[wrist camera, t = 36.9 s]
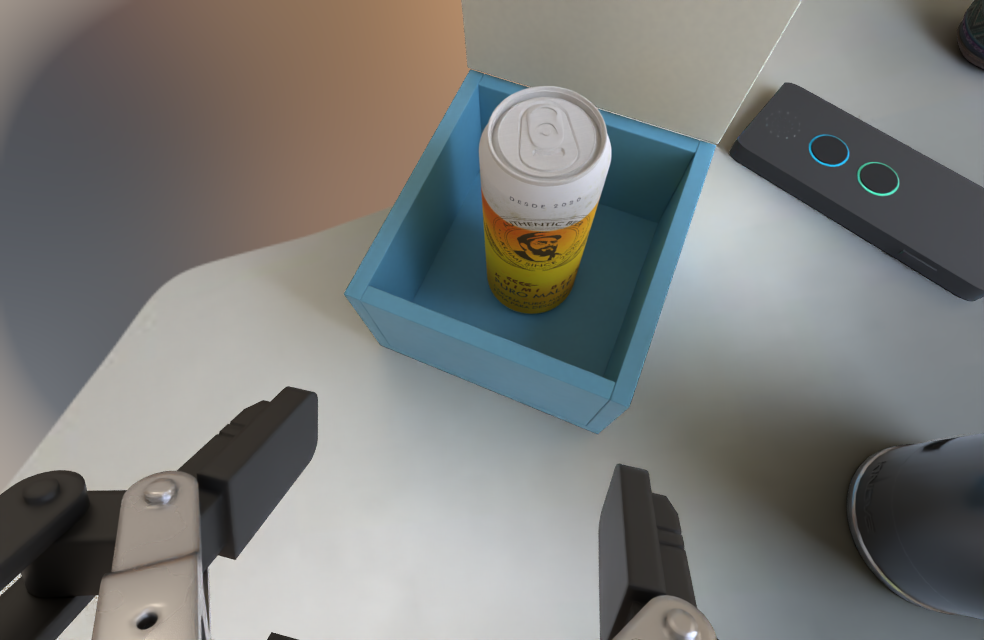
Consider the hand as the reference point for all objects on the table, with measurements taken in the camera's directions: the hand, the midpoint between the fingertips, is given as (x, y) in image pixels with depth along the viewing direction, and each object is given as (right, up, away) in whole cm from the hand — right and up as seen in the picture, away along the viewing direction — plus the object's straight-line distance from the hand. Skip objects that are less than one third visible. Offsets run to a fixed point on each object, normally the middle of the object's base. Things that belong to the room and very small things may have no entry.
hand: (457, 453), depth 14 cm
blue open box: (+4, +6, +24) cm, 25 cm away
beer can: (+4, +6, +23) cm, 25 cm away
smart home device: (+30, +13, +27) cm, 42 cm away
